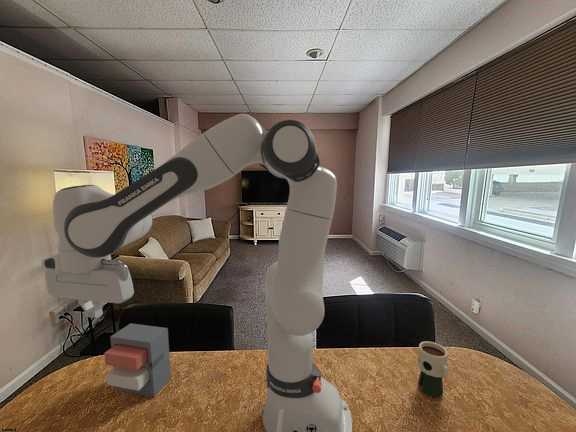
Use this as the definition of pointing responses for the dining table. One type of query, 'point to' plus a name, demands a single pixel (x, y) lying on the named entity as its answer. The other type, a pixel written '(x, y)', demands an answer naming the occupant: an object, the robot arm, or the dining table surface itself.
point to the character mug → (432, 368)
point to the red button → (126, 356)
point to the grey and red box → (157, 354)
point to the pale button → (128, 377)
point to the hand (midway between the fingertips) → (94, 316)
